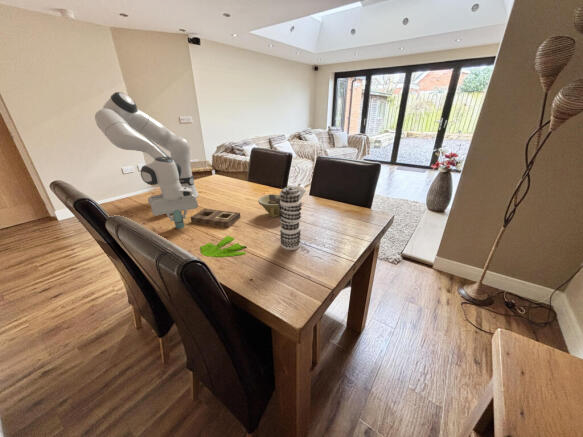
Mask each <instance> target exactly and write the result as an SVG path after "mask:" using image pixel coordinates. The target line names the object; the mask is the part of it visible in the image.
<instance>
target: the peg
mask: <svg viewBox="0 0 583 437" xmlns="http://www.w3.org/2000/svg"><path fill="white" fill-rule="evenodd" d="M171 215H172V217H173V218H174V221H173V223H174V225H175V229H177V230H181V229H184V228H185V222H184V220H185V219H183V217H182V215H183V212H182V211H178V210H174V212H173V213H172V214H171Z"/></svg>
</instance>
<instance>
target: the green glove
mask: <svg viewBox="0 0 583 437" xmlns="http://www.w3.org/2000/svg"><path fill="white" fill-rule="evenodd" d="M234 240H235V238H234V237H232V236H229V235H226V236H225V237H224V238H223V239H222V240H221V241H219V242H218V243H217V244H215V245H214V244H213V243H211V242H207V243H206V244H205V245H201V246H200V247H199V248H200V254H201V253H202V254H203V255H204V256H205V257H212V258H228V257H238V256H243V255H247V252H246V251H243V249H247V248H248V247H247V246H246V245H241V244H240V243H239V242H237V243H234V244H231V246H228V247H224V246H226V245H228V244H230V243H232V242H233V241H234ZM221 248H222V249H221ZM202 254H201V255H202ZM203 255H202V256H203Z"/></svg>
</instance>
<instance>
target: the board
mask: <svg viewBox="0 0 583 437" xmlns="http://www.w3.org/2000/svg"><path fill="white" fill-rule="evenodd" d="M241 218H242V217H241V212H236V211H230V210H229V211H228V210H220V209H213V208H212V209H211V208H204V209H201V210H200V211H198V212H196V213H195V214H193V215H191V216H190V221H191V223H194V224H200V225H208V226H214V227H221V228H223V227H224V228H230V227H231V226H232V225H234V224H235V223H237V222H238V221H239V220H240V219H241Z"/></svg>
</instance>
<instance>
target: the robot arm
mask: <svg viewBox="0 0 583 437" xmlns="http://www.w3.org/2000/svg"><path fill="white" fill-rule="evenodd" d="M94 120H95V123H96V126H97V127H98V128H99V130H100V131H101V132H102V133H103V134H104V136H105V137H106V138H107V140H109V141H110V143H111V144H112V145H114V146H115V147H117V148H118V149H121V150H124V151H136V152H140V153H141V152H142V153H145V154H147V155H149V156H150V157H151V158H152V159H154V160H153V161H152V162H150V163H147V164H145V165H142V167H141V168H140V177H141V179H142V181H143V182H144V183H146V184H147V185H150V186H156V185H159V189H160V190H159V191H160V192H161V193H160V194H156V195H154V194H153V195H151V196H149V197H148V198H147V202H148V204H149V206H150V210H151V214H152V215H153V216H155V217H156V216H161V215H166V217H168V218H169V220H170V222H174V218H173V216H171V214H170V213H173V212H174V210H178V211H181V212H183V213H182V217H183V220H185V219H187V217H186V216H187V213H188V211H189V210H195V209H198V207H199V204H198V203H199V202H198V200H197V197H199V192H198V190H197V188H196V185H195V179H194V175H193V173H192V172H193V171H192V166H191V152H190V151H191V150H190V149H191V146H190V144H189V142H188V140H187V139H185V138H184V137H183V136H179V135H177V134H175V133H174V132H173V131H171V129H168V127H166V126H165V125H164V124H162V123H160V122H159V121H158V120H156V119H154V118H153V117H152V116H150V115H149V114H147V113H145V112H144V111H142V110H140V109H138V107H137V104H136V102H135V101H134V100H133V99H132V98H131V97H130V96H128V95H127V94H125V93H123V92H119V91H115V92H114V93H113V94H111V95H110V97H109V99H108V100H107V101H106V102H105V103H104V104H103V108H101V109H99V110H97V111H96V113H95V115H94ZM160 147H162V148H163V149H164V150H166V151H167V152H169V153H170V156H169V155H168V154H167V153H166V152H164V150H162V149H161V148H160Z"/></svg>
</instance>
